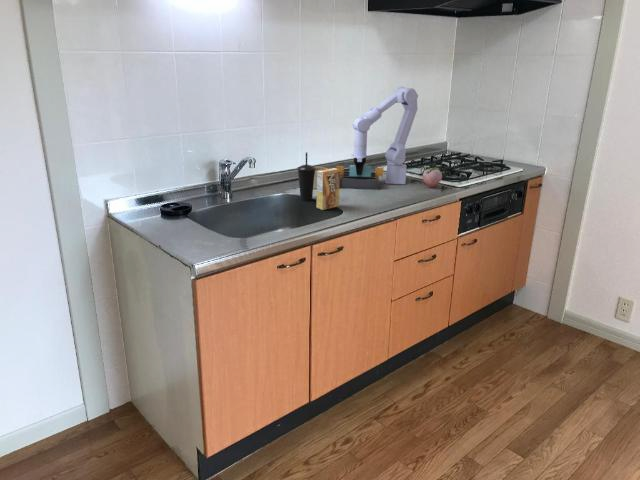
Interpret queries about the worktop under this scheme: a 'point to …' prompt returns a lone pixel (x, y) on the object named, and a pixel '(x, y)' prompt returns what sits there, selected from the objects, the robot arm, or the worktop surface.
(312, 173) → the drinking cup
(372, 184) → the rack
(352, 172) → the block
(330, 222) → the worktop surface
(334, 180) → the candy box
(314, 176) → the flower pot
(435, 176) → the decorative fruit
